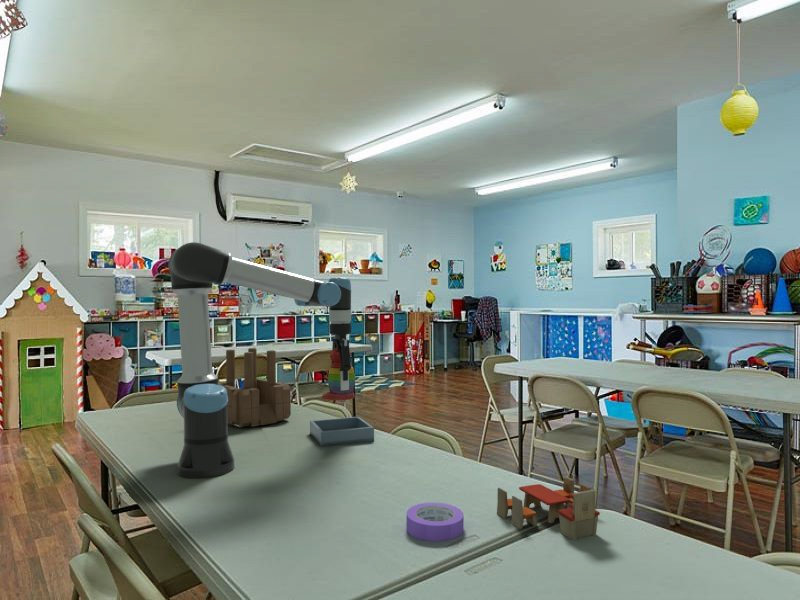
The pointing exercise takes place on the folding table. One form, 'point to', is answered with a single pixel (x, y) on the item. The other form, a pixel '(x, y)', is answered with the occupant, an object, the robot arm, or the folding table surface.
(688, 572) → the folding table surface
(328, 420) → the tray
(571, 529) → the dollhouse furniture set
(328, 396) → the stacking bear
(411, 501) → the folding table surface
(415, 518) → the masking tape
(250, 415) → the wooden toy structure
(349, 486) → the folding table surface
